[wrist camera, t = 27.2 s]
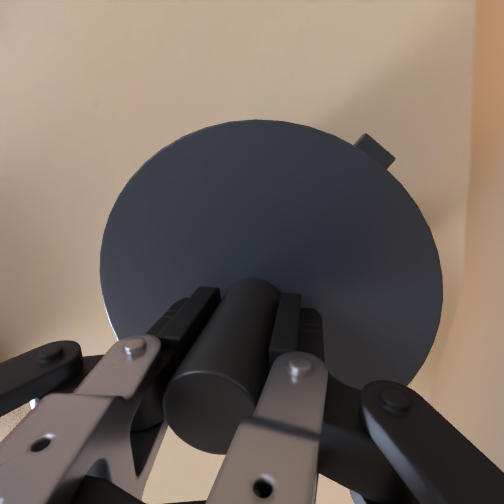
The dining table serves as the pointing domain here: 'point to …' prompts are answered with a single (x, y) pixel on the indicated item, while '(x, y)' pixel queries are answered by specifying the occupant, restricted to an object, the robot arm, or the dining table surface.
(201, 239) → the pot lid
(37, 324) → the dining table surface
